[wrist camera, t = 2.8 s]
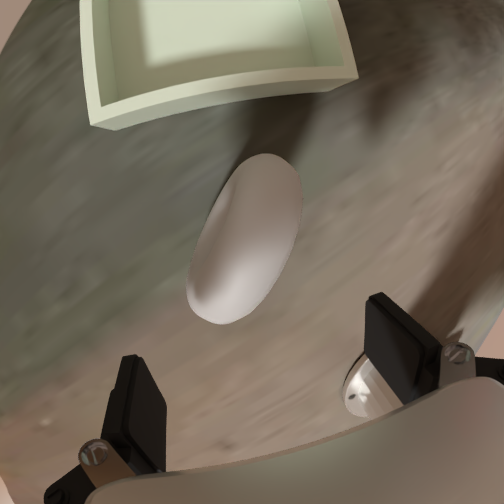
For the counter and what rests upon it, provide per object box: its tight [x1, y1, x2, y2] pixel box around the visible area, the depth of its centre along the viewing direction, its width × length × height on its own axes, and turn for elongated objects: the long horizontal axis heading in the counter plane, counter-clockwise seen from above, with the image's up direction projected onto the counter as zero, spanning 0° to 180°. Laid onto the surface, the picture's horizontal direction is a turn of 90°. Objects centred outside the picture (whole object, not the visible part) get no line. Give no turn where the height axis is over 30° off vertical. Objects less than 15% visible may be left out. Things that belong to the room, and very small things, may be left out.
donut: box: [186, 154, 303, 324], centre depth 17 cm, size 10×4×10 cm, turn 153°
